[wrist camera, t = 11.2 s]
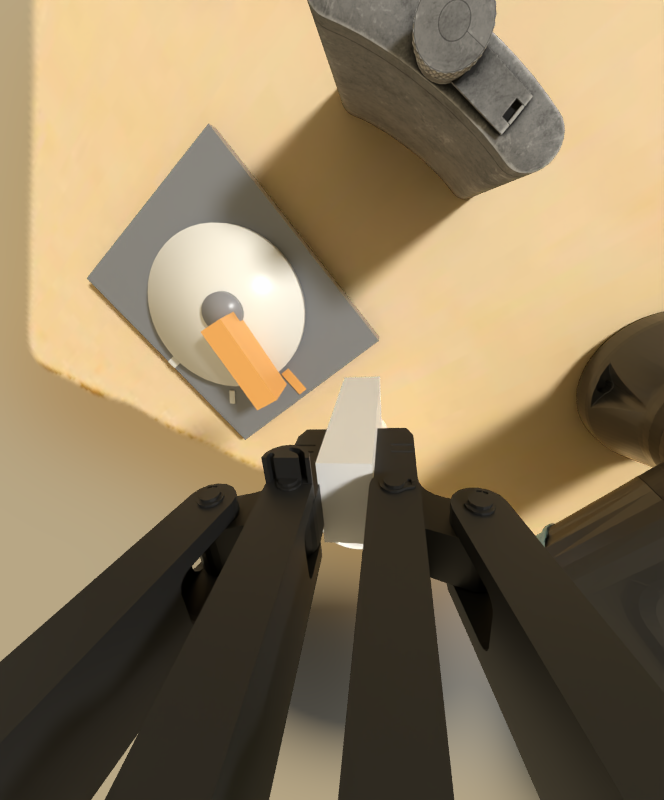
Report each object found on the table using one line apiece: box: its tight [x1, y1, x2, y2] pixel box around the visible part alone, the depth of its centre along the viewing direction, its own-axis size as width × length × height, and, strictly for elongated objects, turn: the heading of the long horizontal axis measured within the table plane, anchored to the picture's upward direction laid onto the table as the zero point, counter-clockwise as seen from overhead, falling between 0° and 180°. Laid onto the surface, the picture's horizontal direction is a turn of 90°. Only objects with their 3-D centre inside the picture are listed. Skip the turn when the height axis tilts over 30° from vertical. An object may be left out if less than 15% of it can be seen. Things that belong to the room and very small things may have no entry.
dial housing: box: [87, 124, 379, 440], centre depth 38 cm, size 24×20×2 cm
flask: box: [307, 0, 565, 199], centre depth 23 cm, size 4×14×18 cm, turn 57°
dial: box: [148, 222, 306, 410], centre depth 36 cm, size 18×16×5 cm
